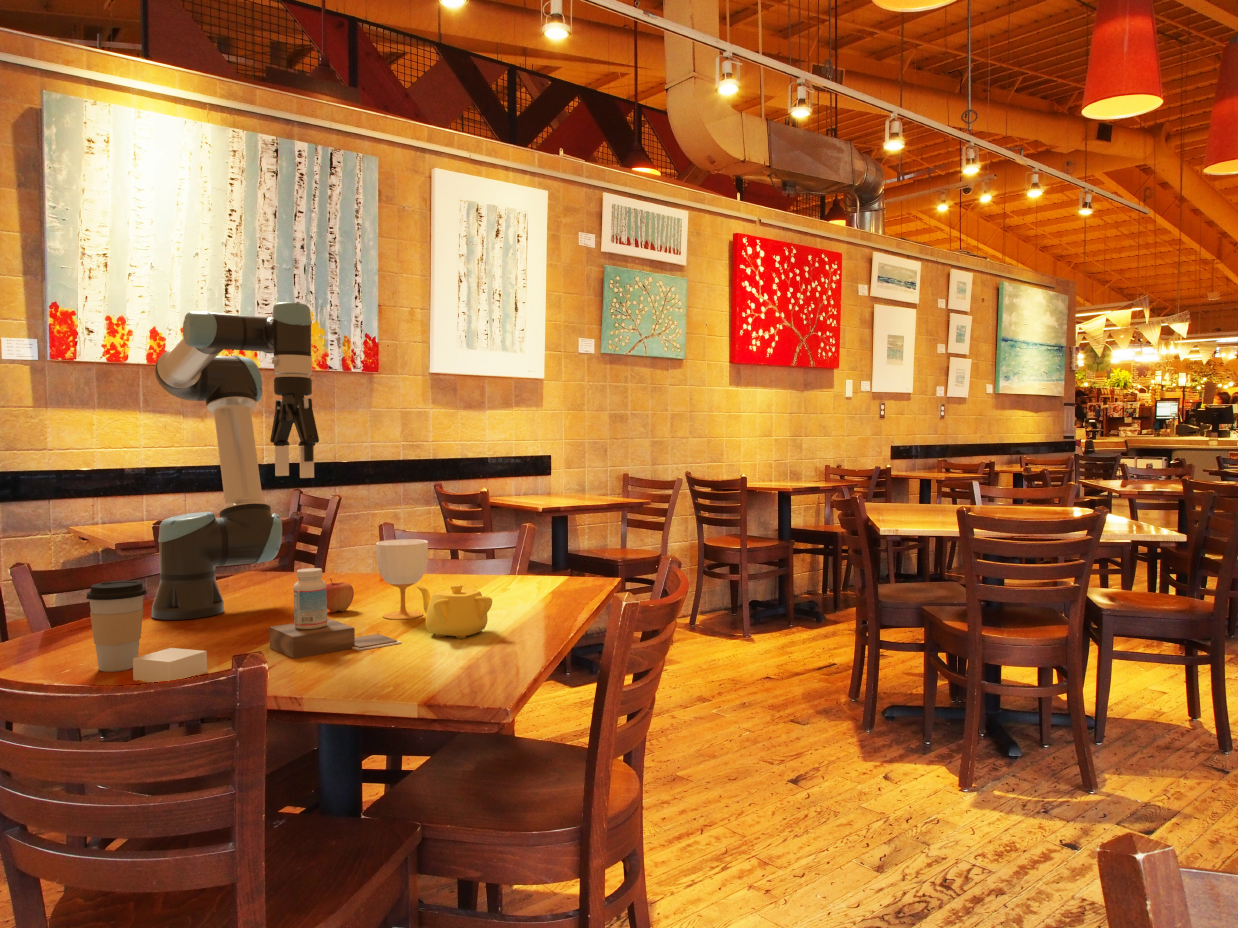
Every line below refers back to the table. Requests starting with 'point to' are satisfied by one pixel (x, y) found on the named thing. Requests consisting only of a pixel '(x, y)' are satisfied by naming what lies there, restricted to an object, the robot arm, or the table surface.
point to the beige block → (169, 665)
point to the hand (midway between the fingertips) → (294, 476)
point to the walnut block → (311, 639)
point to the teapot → (455, 611)
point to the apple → (339, 596)
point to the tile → (373, 642)
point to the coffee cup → (116, 622)
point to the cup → (402, 568)
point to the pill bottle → (310, 600)
